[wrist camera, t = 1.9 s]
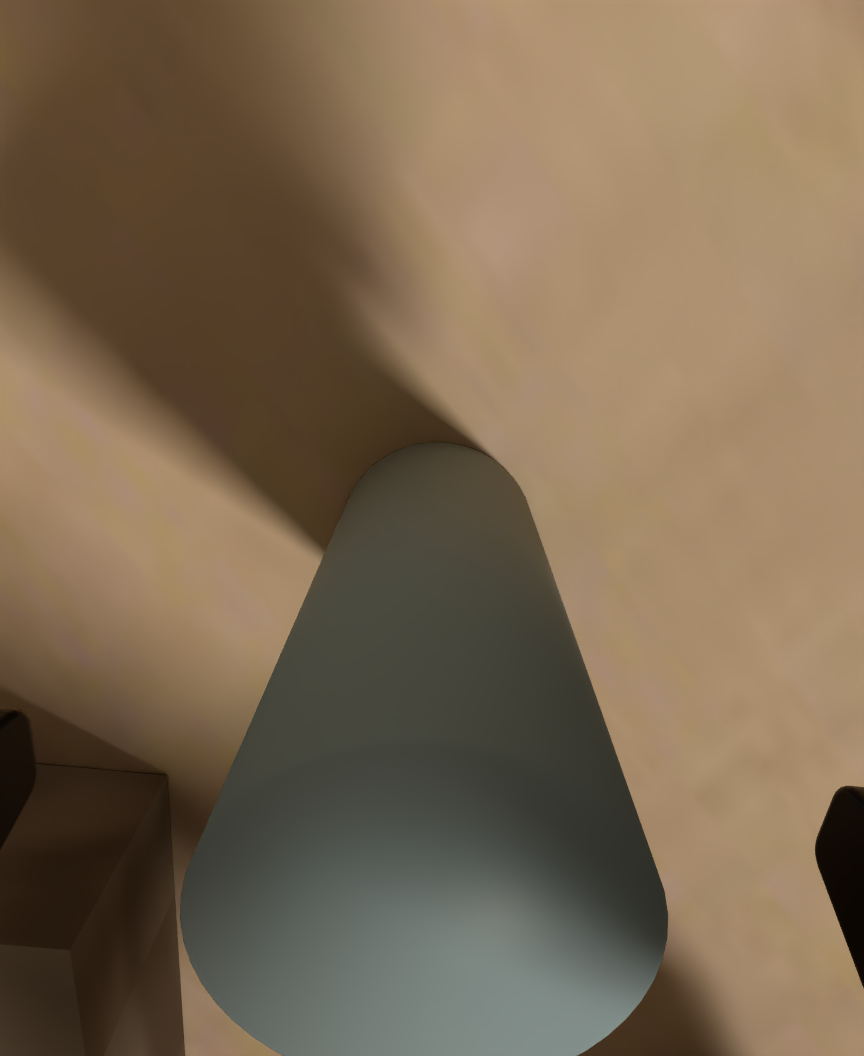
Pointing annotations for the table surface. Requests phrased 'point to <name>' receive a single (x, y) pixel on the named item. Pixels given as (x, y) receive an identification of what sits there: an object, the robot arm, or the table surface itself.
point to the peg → (427, 800)
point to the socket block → (90, 919)
